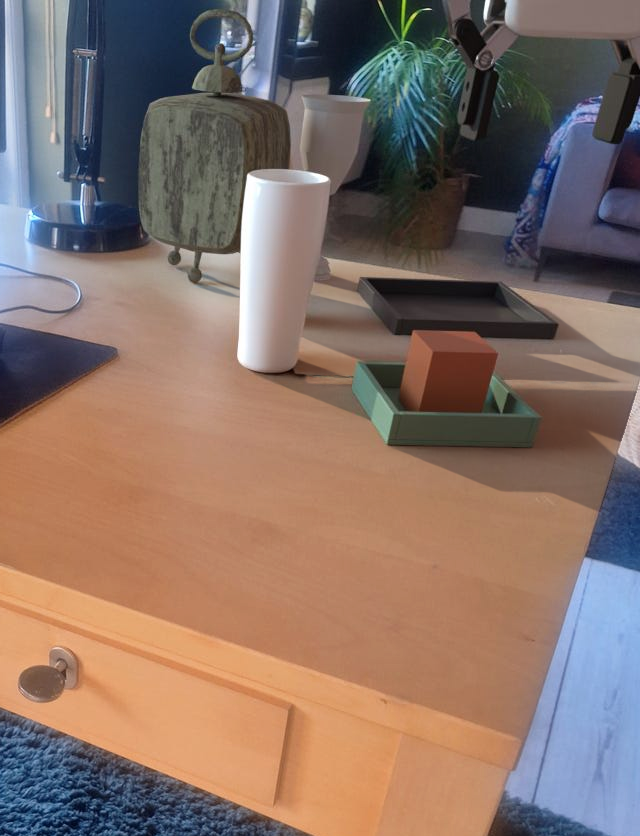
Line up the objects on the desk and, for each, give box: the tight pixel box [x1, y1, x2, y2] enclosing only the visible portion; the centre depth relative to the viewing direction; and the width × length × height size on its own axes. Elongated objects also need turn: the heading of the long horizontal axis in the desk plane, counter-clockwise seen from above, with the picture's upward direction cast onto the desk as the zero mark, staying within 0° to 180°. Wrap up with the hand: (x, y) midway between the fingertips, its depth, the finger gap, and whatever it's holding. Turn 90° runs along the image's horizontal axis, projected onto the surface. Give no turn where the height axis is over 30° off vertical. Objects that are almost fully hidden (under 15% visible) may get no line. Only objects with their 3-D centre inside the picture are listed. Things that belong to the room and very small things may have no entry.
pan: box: [356, 276, 559, 341], centre depth 91 cm, size 16×15×2 cm
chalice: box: [299, 93, 371, 281], centre depth 97 cm, size 7×7×18 cm
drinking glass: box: [236, 169, 331, 374], centre depth 73 cm, size 7×7×15 cm
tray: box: [351, 360, 542, 448], centre depth 69 cm, size 11×11×2 cm
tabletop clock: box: [137, 8, 292, 284], centre depth 92 cm, size 14×9×25 cm, turn 59°
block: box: [398, 330, 499, 413], centre depth 68 cm, size 5×5×6 cm
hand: (539, 139), depth 61 cm, fingers open, 9 cm apart
